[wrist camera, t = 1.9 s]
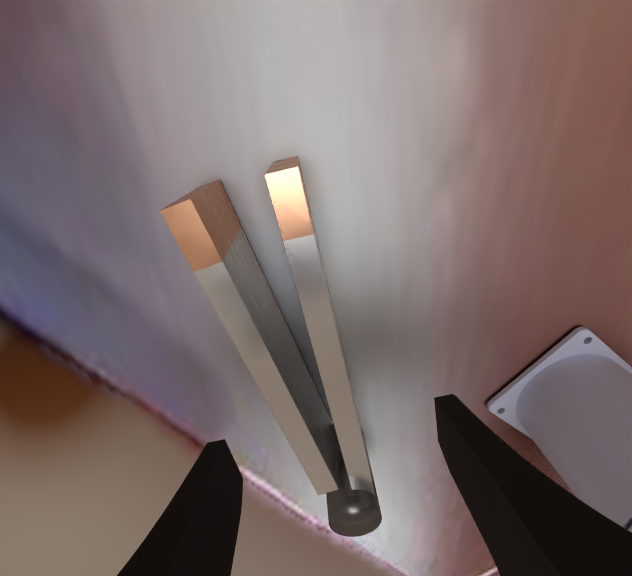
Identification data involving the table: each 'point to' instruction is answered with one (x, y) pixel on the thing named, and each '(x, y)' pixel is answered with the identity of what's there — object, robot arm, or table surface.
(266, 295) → the tongs moving arm
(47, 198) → the table surface
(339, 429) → the tongs fixed arm
